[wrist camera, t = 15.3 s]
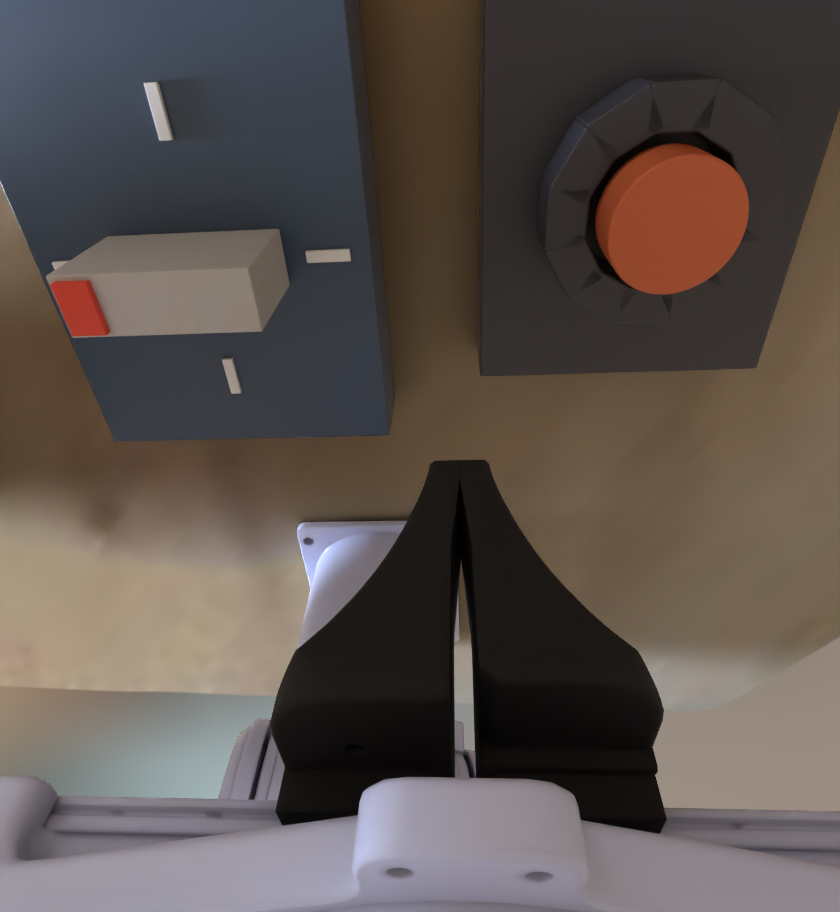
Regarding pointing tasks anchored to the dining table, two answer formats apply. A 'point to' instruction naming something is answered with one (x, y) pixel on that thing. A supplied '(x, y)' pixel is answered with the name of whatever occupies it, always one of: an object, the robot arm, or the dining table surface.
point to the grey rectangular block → (173, 284)
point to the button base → (615, 142)
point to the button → (671, 218)
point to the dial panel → (208, 197)
